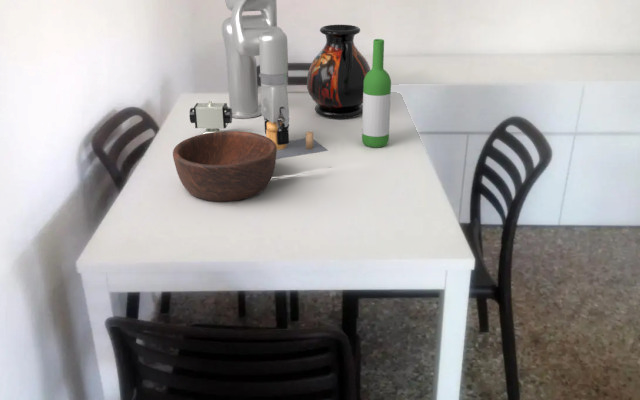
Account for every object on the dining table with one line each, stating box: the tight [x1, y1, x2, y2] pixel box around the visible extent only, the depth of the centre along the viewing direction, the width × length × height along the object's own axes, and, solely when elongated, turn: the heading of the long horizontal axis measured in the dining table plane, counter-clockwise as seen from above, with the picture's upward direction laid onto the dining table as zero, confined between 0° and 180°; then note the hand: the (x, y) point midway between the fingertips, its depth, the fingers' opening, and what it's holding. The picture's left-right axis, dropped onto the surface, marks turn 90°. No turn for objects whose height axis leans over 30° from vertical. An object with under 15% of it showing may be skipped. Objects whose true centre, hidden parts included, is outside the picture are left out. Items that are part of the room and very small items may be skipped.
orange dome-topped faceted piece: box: [265, 121, 286, 150], centre depth 180 cm, size 5×5×7 cm
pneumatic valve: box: [189, 100, 233, 134], centre depth 187 cm, size 6×12×12 cm, turn 89°
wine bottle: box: [361, 38, 392, 148], centre depth 180 cm, size 8×8×30 cm
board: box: [276, 131, 329, 160], centre depth 179 cm, size 12×18×6 cm, turn 115°
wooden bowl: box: [172, 130, 277, 202], centre depth 157 cm, size 25×25×10 cm
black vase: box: [306, 24, 371, 120], centre depth 209 cm, size 22×22×28 cm
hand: (276, 138), depth 180 cm, fingers open, 9 cm apart
